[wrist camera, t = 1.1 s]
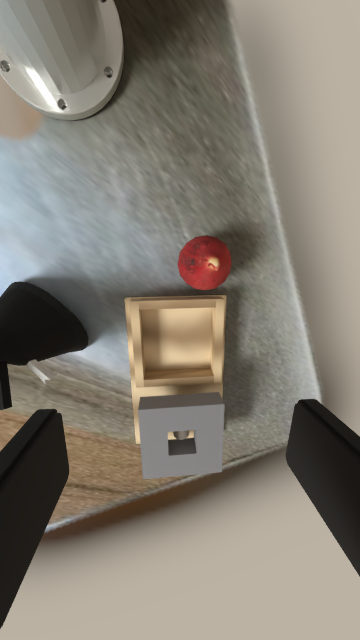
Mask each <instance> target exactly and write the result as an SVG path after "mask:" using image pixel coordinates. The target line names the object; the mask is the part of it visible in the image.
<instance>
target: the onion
mask: <svg viewBox="0 0 360 640" xmlns="http://www.w3.org/2000/svg"><path fill="white" fill-rule="evenodd" d="M231 264H232V263H231V255H230V252H229V250H228V248H227V246H226V245H225V243H223V242H222V241H221V240H219V239H218V238H216V237H212V236H200V237H195V238H194V239H192V240H190V241H189V242H187V243H186V245H185V246H184V247H183V249H182V250H181V252H180V255H179V260H178V268H179V272H180V276H181V277H182V278H183V279H184V281H185V282H186V283H187V284H188V285H190V286H192V287H193V288H195V289H200V290H209V289H214V288H217V287H218V286H219V285H221V284H222V283H223V282H224V281H225V280H226V278H227V277H228V275H229V273H230V269H231Z"/></svg>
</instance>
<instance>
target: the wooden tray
mask: <svg viewBox="0 0 360 640" xmlns="http://www.w3.org/2000/svg"><path fill="white" fill-rule="evenodd" d="M125 311H126V323H127V336H128V348H129V361H130V373H131V386H132V398H133V410H134V423H135V435H136V444H140V431H139V417H138V407H139V401H140V397H147V396H163V395H179V394H195V393H210V392H219V393H220V395H221V397H222V396H223V371H224V346H225V321H226V295H203V296H164V297H126V298H125ZM186 438H194V430H187V431H174V432H168V440H171V439H178V440H183V439H186Z"/></svg>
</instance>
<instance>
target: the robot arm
mask: <svg viewBox="0 0 360 640" xmlns="http://www.w3.org/2000/svg"><path fill="white" fill-rule="evenodd" d="M123 64H124V43H123V35H122V29H121V24H120V19H119V14H118V11H117V8H116V6H115V3H114V0H0V74H1V75H2V77H3V78H4V79H5V81H6V82H7V83H8V85H9V86H10V87H11V88H12V89H13V90H14V92H15V93H16V94H17V95H18V96H19V97H20V98H21V99H22V100H23V101H24V102H26V103H27V104H28V105H29V106H31V107H32V108H33V109H35V110H37V111H39V112H41V113H42V114H44V115H46V116H49V117H53V118H56V119H61V120H78V119H83V118H86V117H88V116H91V115H93V114H95V113H96V112H98V111H99V110H100V109H102V108H103V107H104V106H105V105H106V104H107V103H108V102H109V100H110V99H111V98H112V96H113V94H114V93H115V91H116V89H117V87H118V84H119V81H120V78H121V75H122V69H123ZM286 460H287V463H288V465H289V467H290V468H291V470H292V472H293V473H294V475H295V476H296V478H297V479H298V481H299V483H300V484H301V486H302V487H303V489H304V490H305V492H306V493H307V495H308V497H309V498H310V500H311V501H312V503H313V504H314V506H315V507H316V509H317V511H318V512H319V514H320V515H321V517H322V518H323V520H324V522H325V523H326V525H327V526H328V528H329V529H330V531H331V532H332V534H333V536H334V537H335V539H336V540H337V542H338V543H339V545H340V546H341V548H342V550H343V551H344V553H345V554H346V556H347V557H348V559H349V560H350V562H351V564H352V565H353V567H354V568H355V570H356V571H357V573H358V574H359V576H360V437H359V436H358V435H357V434H356V433H355V432H354V431H352V430H351V429H350V428H349V427H348V426H347V425H345V424H344V423H343V422H342V421H341V420H339V419H338V418H337V417H336V416H335V415H334V414H333V413H331V412H330V411H329V410H328V409H327V408H325V407H324V406H323V405H322V404H321V403H320V402H318V401H317V400H315V399H301V400H299V401H298V403H297V404H295V407H294V412H293V418H292V423H291V429H290V434H289V440H288V445H287V451H286ZM68 475H69V464H68V456H67V449H66V442H65V435H64V428H63V421H62V415H61V413H57V410H56V409H39V410H37V411H36V412H35V413H34V414H33V415H32V416H31V417H30V418H29V420H28V421H27V422H26V423H25V424H24V425H23V426H22V428H21V429H20V430H19V431H18V432H17V433H16V434H15V436H14V437H13V438H12V439H11V440H10V441H9V442H8V444H7V445H6V446H5V447H4V448H3V449H2V450H1V452H0V628H1V627H2V625H3V623H4V621H5V619H6V617H7V614H8V612H9V610H10V608H11V606H12V603H13V601H14V599H15V597H16V594H17V592H18V590H19V587H20V585H21V583H22V581H23V578H24V576H25V574H26V572H27V569H28V567H29V565H30V563H31V560H32V558H33V556H34V553H35V551H36V549H37V547H38V545H39V542H40V540H41V538H42V536H43V533H44V531H45V529H46V527H47V524H48V522H49V520H50V518H51V515H52V513H53V511H54V509H55V506H56V504H57V502H58V500H59V497H60V495H61V493H62V491H63V488H64V486H65V484H66V482H67V479H68Z"/></svg>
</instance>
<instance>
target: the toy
mask: <svg viewBox="0 0 360 640" xmlns="http://www.w3.org/2000/svg"><path fill="white" fill-rule="evenodd" d="M87 345H88V336H87V333H86V330H85V329H84V327H83V325H82V324H81V322H80V321H79V320H78V318H77V317H76V316H75V315H74V314H73V313H72V312H71V311H70V310H68V309H67V308H66V307H65V306H64V305H63V304H62V303H60V302H59V301H58V300H57V299H55V298H54V297H53V296H51V295H50V294H49V293H48V292H46V291H44V290H43V289H41V288H39V287H37V286H35V285H32V284H29V283H26V282H14V283H12V284H11V285H10V286H9V287H8V288H7V289H6V291H5V292H4V293H3V294H2V296H1V297H0V410H3V409H7V408H10V407H12V402H11V393H10V385H9V376H8V368H7V364H12V365H18V366H20V365H26V366H27V367H28V368H30V369H31V370H32V371H33V372H34V373H35V374H37V375H38V376H39V377H40V379H41V380H42V381H43V382H44V384H45V385H46V384H47V383H48V382H49V381H50V380H51V379H52V377H54V376H55V375H56V374H57V373H54V372H52V371H50V370H48V369H46V368H45V367H44V366H43V365H41V364H40V363H39V362H38V361H42V360H45V359H48V358H51V357H55V356H58V355H61V354H65V353H68V352H75V351H80V350H83V349H85V348H86V347H87Z"/></svg>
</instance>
